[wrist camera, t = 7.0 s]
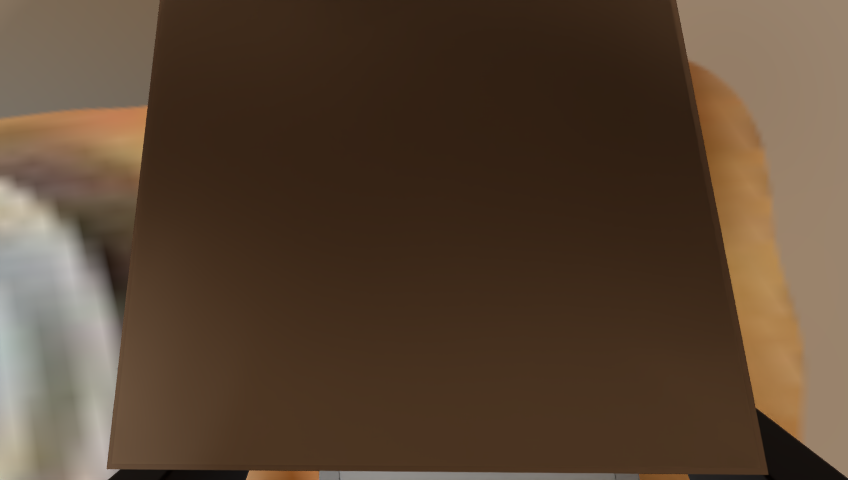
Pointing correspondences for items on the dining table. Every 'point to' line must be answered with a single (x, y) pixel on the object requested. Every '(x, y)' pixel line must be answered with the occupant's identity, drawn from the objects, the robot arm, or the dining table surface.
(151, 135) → the brown wooden block
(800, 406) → the dining table surface
